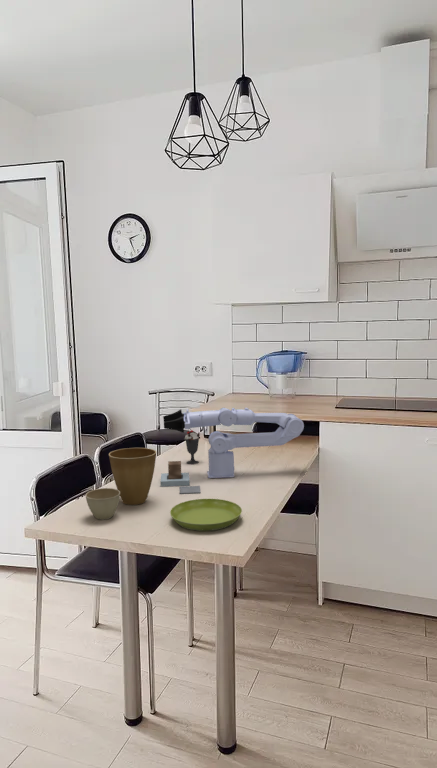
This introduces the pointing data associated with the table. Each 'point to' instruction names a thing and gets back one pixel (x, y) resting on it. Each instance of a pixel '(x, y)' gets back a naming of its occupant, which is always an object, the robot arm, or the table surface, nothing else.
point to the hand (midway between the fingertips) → (163, 422)
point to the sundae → (192, 444)
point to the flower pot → (103, 502)
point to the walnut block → (174, 469)
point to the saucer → (206, 514)
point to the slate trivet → (189, 489)
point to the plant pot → (133, 473)
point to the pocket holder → (174, 480)
